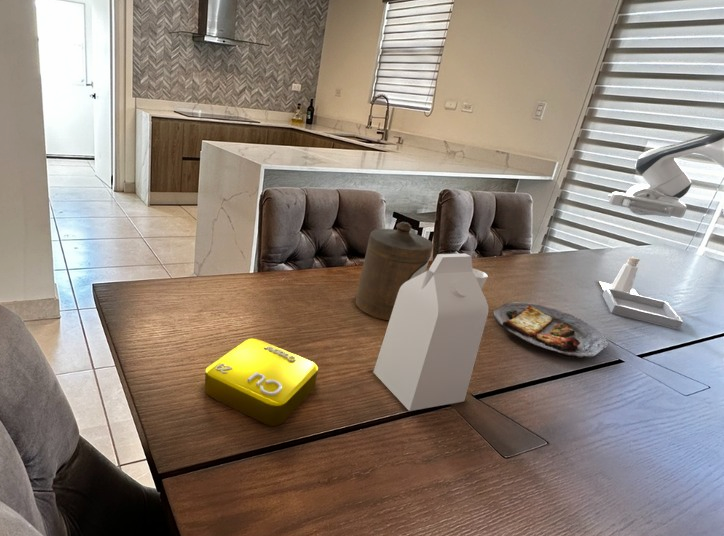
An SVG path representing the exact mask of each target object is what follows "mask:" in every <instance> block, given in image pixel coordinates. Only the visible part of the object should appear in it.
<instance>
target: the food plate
mask: <svg viewBox="0 0 724 536" xmlns="http://www.w3.org/2000/svg"><path fill="white" fill-rule="evenodd" d="M492 316H493V318H494V319H495V320H496V322H497V324H498V325H499V326H500V327H502V328H503V329H504V330H505V331H506V332H507V333H509V334H512V335H513V336H516V337H517V338H519V339H521V340H523V341H525V342H527V343H528V344H529V345H531V346H534V347H538V348H540V349H543V350H546V351H549V352H550V351H551V352H555V353H558V354H561V355H564V356H570V357H574V359H576V358H581V359H582V358H583V357H586V358H588V359H589V358H593V357H596V356H597V355H598V354H600V353H601V352H602V351H603V350H605V349H606V348H608V346H609V345H610V341H609V340H608V339H607V338H606V336H605V335H603V334H602V332H601V331H599V330H598V329H597V328H595V327H594V326H593V325H591V324H590V323H588V322H586V321H584V320H582V319H581V318H578V317H577V316H575V315H572V314H569V313H567V312H564V311H561V310H559V309H557V308H554V307H548V306H545V305H541V304H538V303H531V302H522V301H519V302H511V301H510V302H506V303H504V304H503V305H501V306H499V307H497V308H496V309H494V310H493V312H492Z"/></svg>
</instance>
